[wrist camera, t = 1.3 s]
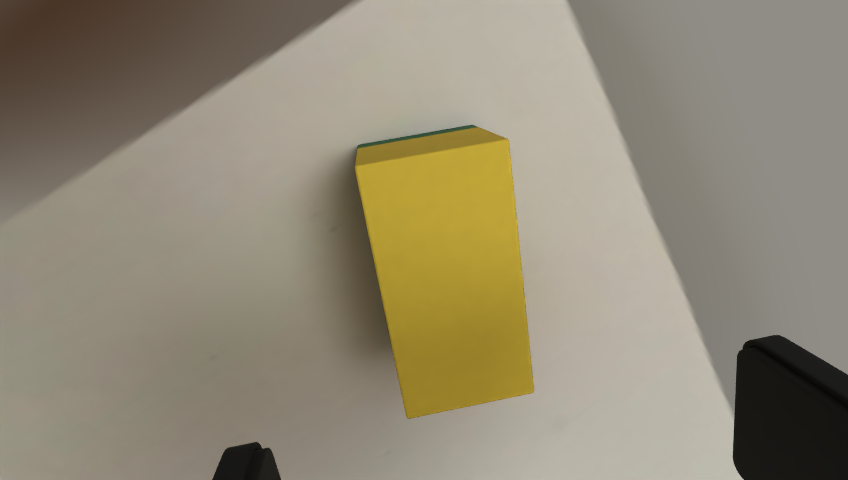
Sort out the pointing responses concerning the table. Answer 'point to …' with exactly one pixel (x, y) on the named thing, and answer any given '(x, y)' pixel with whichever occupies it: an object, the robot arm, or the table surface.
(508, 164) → the sponge
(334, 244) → the table surface
